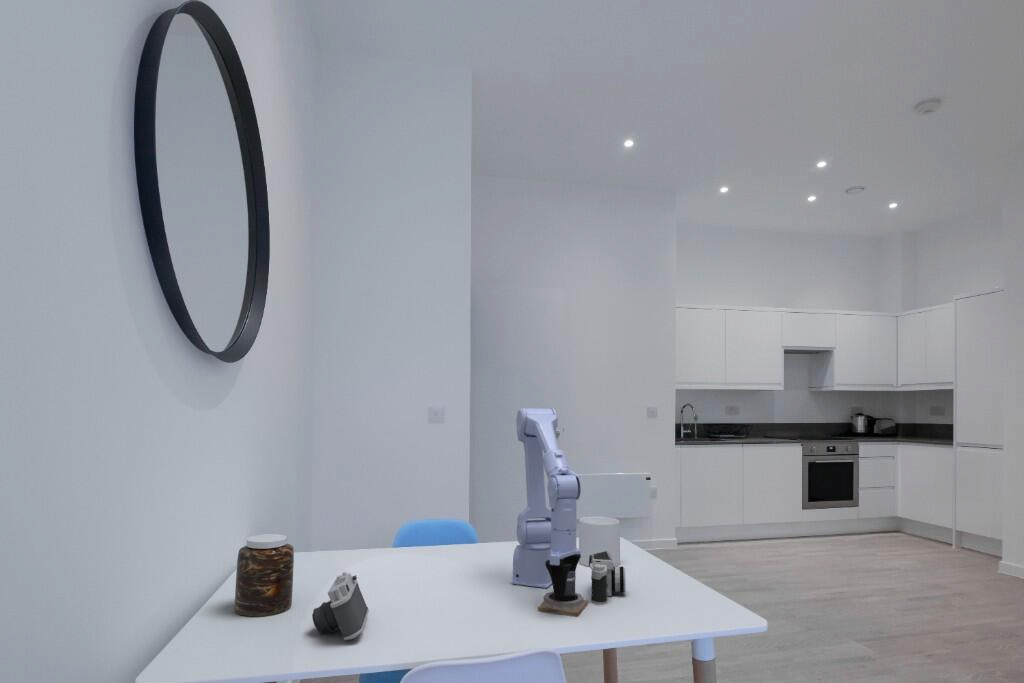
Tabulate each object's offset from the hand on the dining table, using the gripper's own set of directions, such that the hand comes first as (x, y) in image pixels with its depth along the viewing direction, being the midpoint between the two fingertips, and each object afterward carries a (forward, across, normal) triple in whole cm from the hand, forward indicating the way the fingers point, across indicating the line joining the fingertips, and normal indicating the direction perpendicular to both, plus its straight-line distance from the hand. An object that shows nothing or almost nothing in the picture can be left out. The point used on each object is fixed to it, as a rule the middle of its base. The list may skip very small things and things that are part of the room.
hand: (563, 590), depth 137 cm
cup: (+4, +41, +1) cm, 42 cm away
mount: (+4, 0, 0) cm, 4 cm away
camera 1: (+4, -31, +37) cm, 48 cm away
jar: (+4, -26, +60) cm, 66 cm away
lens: (+3, 0, 0) cm, 3 cm away
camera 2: (+4, +13, -7) cm, 15 cm away
